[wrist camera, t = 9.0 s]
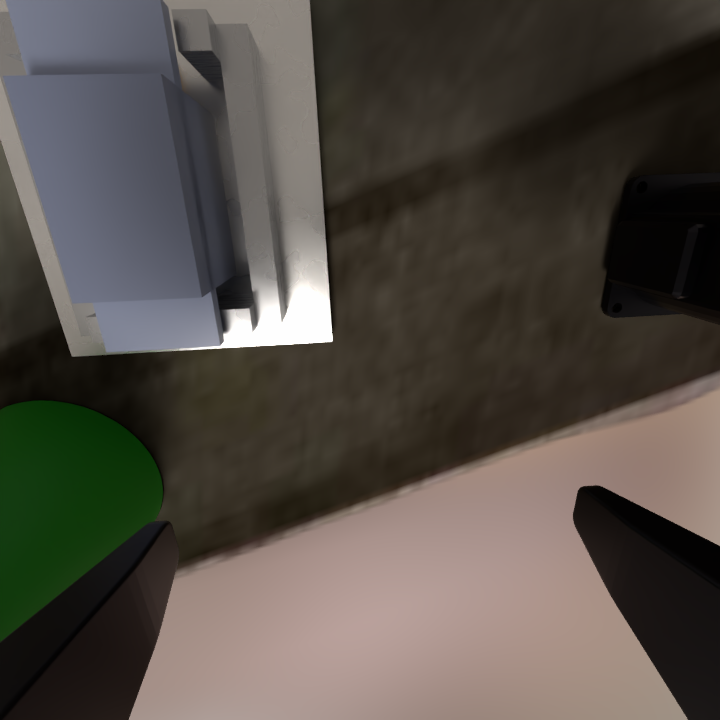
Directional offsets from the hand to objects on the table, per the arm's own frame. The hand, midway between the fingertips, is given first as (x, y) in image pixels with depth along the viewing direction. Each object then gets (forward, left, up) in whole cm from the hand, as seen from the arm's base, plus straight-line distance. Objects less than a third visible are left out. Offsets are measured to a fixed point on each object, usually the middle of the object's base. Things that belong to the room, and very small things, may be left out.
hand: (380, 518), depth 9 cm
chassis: (+7, -7, -12) cm, 16 cm away
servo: (+7, -7, -11) cm, 15 cm away
